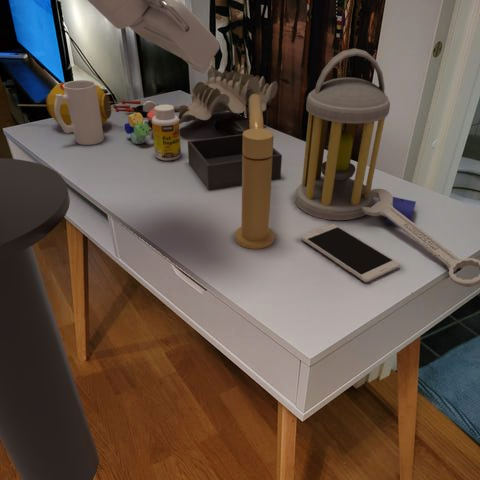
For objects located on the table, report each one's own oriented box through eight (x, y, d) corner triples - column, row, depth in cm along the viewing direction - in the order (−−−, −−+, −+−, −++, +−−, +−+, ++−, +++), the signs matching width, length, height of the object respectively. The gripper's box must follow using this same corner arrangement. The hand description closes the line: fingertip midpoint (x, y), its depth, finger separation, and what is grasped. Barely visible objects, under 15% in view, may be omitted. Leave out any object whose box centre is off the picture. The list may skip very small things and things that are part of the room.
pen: (186, 111, 128) (186, 107, 127) (123, 113, 125) (122, 109, 124) (186, 108, 129) (186, 104, 128) (122, 110, 126) (122, 106, 125)
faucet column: (243, 252, 77) (245, 166, 67) (229, 232, 81) (229, 150, 72) (280, 244, 78) (286, 160, 69) (264, 225, 83) (268, 144, 74)
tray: (208, 190, 93) (207, 166, 90) (188, 163, 102) (187, 141, 99) (280, 178, 97) (282, 155, 94) (255, 154, 107) (256, 132, 103)
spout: (272, 171, 70) (274, 139, 67) (242, 171, 70) (242, 139, 67) (266, 116, 88) (267, 89, 85) (242, 115, 88) (242, 88, 85)
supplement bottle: (163, 163, 102) (158, 113, 95) (151, 155, 106) (145, 105, 99) (186, 157, 105) (182, 108, 98) (173, 149, 108) (169, 101, 101)
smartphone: (333, 222, 82) (401, 264, 73) (332, 226, 83) (400, 267, 73) (299, 235, 79) (366, 280, 70) (298, 239, 79) (366, 284, 70)
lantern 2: (148, 117, 121) (32, 115, 123) (142, 76, 114) (18, 75, 116) (139, 136, 114) (16, 134, 116) (132, 94, 107) (1, 92, 109)
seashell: (238, 102, 134) (248, 44, 123) (283, 134, 126) (299, 74, 115) (151, 119, 118) (155, 54, 107) (197, 156, 110) (206, 90, 100)
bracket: (408, 227, 82) (412, 214, 81) (380, 221, 83) (384, 208, 82) (414, 205, 89) (418, 192, 87) (388, 200, 90) (392, 187, 89)
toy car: (230, 124, 120) (230, 108, 118) (260, 138, 113) (261, 122, 110) (211, 129, 117) (210, 112, 115) (241, 144, 110) (241, 127, 108)
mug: (96, 132, 115) (86, 78, 108) (110, 141, 112) (101, 85, 104) (56, 142, 110) (42, 86, 103) (69, 151, 107) (56, 93, 99)
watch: (134, 100, 122) (134, 111, 125) (137, 114, 120) (137, 125, 123) (164, 99, 124) (163, 110, 127) (168, 113, 122) (167, 124, 125)
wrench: (353, 205, 85) (353, 197, 83) (378, 188, 85) (378, 180, 84) (465, 297, 71) (466, 290, 69) (494, 276, 71) (496, 268, 69)
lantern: (300, 220, 84) (316, 61, 68) (290, 184, 95) (302, 39, 78) (381, 219, 84) (416, 61, 68) (362, 183, 95) (389, 39, 79)
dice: (125, 137, 113) (121, 108, 109) (135, 135, 114) (131, 106, 110) (141, 148, 108) (137, 118, 104) (151, 145, 109) (148, 116, 105)
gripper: (180, -27, 51) (255, 65, 61) (114, -45, 64) (185, 34, 74) (145, 25, 52) (224, 107, 62) (87, -3, 65) (160, 69, 76)
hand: (202, 67), depth 68 cm, fingers closed
